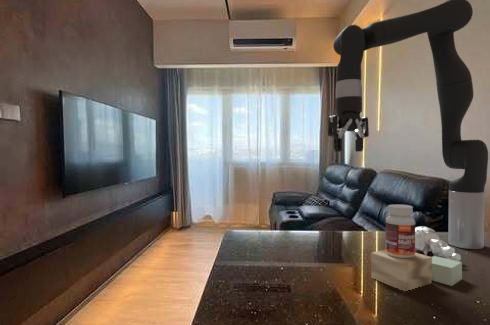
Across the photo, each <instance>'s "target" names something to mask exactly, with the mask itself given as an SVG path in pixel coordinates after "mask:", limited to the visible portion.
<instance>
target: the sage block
mask: <svg viewBox="0 0 490 325" xmlns="http://www.w3.org/2000/svg"><path fill="white" fill-rule="evenodd" d="M431 257H432V281H433V282H435V283H440V284H444V285H447V286H451V287H453V286H454V285H455V284H457V283H459V282H460V281H462V279H463V262H462V261H460V260H459V261H455V260H450V259H446V258H443V257H437V256H435V255H433V256H431Z"/></svg>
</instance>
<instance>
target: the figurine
mask: <svg viewBox="0 0 490 325" xmlns="http://www.w3.org/2000/svg"><path fill="white" fill-rule="evenodd" d="M435 232H436V231H435V230H434V229H433V228H430V227H428V226H424V225H422V226H421V225H420V226H415V250H418V251H419V252H420V251H421V252H422V253H423V255H426V256H428V253H432V254H433V256H437V257H441V258H446V259H450V260H455V261H459V262H460V261H461V259H462V258H461V256H462V255H461V254H460V253H457V252H456V248H454V246H453V247H452V246H450V245H448V244H449V243H447V242H446V241H444V240H442V239H440V236H439V235H438V234H437V233H435Z"/></svg>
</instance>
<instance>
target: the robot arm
mask: <svg viewBox="0 0 490 325" xmlns="http://www.w3.org/2000/svg"><path fill="white" fill-rule="evenodd" d="M472 17H473V6H472V5H471V3H470V2H469V0H446V1H445V2H444V1H443V3H441V4H439V5H435V6H433V7H429V8H426V9H424V10H421V11H417V12H414V13H409V14H406V15H402V16H397V17H393V18H389V19H384V20H383V19H382V20H379V21H374V22H373V23H370V24H368V25H366V26H364V27H363V28H362V27H360V25H356V24H350V25H347V26H346V27H345V28H343V29H342V30H341V31H340V32H339V34H338V35H337V36H336V37H335V38H334V41H333V43H332V44H333V47H332V48H333V49H334V52H335V53H336V54H337V55H338V56H340V58H339V62H338V64H337V66H336V83H335V84H336V85H335V113H336V114H337V115H330V116H328V122H327V123H328V124H327V126H328V127H327V128H328V129H327V135H328V137H330V138H332V139H333V150H334V151H335V152H337V153H338V152H339V153H340V152H342V151H343V144H342V143H343V139H342V137H343V136H344V134H345V133H346V132H351V134H352V135H353V136H354V137H355V144H354V145H355V150H354V151H355V152H363V150H364V139H365V138H368V137H370V136H369V135H370V132H369V130H370V129H369V117H367V116H366V117H365V116H364V117H361V115H360V114H361V113H362V112H363V85H362V62H363V59H364V58H363V57H364V53H365V51H367V50H371V49H373V48H379V47H383V46H388V45H391V44H395V43H399V42H401V41H404V40H407V39H410V38H413V37H416V36H418V35H423V34H427V39H428V42H429V46H430V51H431V54H432V55H431V56H432V61H433V67H434V74H435V75H434V76H435V80H436V81H435V83H436V91H437V99H438V103H439V112H440V123H441V124H440V125H441V154H442V158H443V159H442V160H443V163H444V165H445V166H446V167H447V168H449V169H452V170H453V169H454V170H464V172H463V175H462V176H461V177H459V178H456V179H453V180H451V181H449V182H448V227H447V228H448V232H447V233H448V234H447V236H448V238H447V239H448V241H447V242H448V243H447V244H449V246H450V245H451V247H452V246H453V247H456V248H461V249H469V250H482V249H483V248H485V247H484V246H485V187H486V184H487V180H488V165H489V151H488V150H489V149H488V147H487V144H486V143H485V142H484V141H483V140H480V139H462V134H461V132H462V131H461V130H462V123H463V120H464V117H465V115H466V114H467V112H468V110H469V108H470V106H471V104H472V102H473V99H474V84H473V77H472V74H471V71H470V69H469V68H468V66H467V64H466V63H465V62H464V61H463V59H462V58H461V57H460V56H459V53H458V52H457V49H456V45H455V44H456V43H455V36H454V34H455V33H456V32H457V31H459V30H461V29H463V28H464V27H466V26H467V25H468V24H469V23H470V21H471V19H472Z"/></svg>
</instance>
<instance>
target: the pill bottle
mask: <svg viewBox="0 0 490 325" xmlns="http://www.w3.org/2000/svg"><path fill="white" fill-rule="evenodd" d="M413 208H414V207H413V206H412V205H408V204H388V205H387V213H388V214H389V215H388V216H386V218H385V250H386V253H387V254H388V255H390V256H393V257H397V258H412V257H414V256H415V253H416V248H415V228H416V220H415V218H413V217H412V216H413V214H414V212H413V211H414V210H413Z"/></svg>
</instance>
